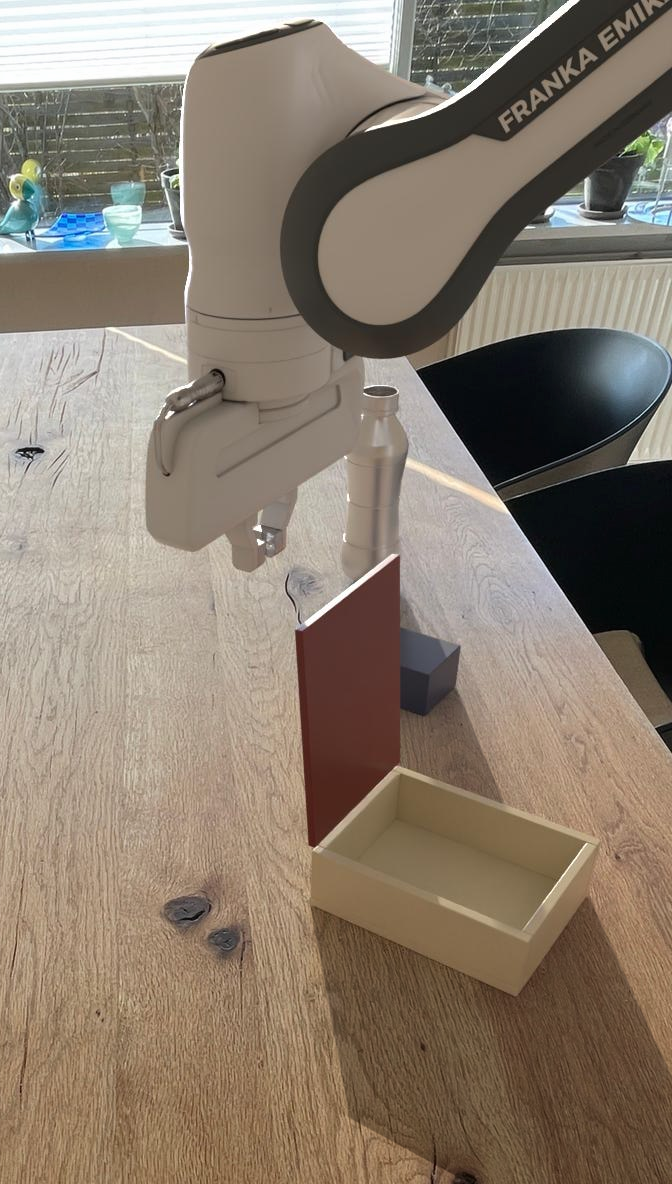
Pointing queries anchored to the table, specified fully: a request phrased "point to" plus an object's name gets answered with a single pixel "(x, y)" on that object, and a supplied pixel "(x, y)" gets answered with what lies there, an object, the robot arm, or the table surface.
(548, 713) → the table surface
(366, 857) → the beige open box
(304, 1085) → the table surface
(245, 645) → the table surface
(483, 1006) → the table surface
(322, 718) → the cover
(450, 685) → the dark grey brick
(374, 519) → the plastic bottle
